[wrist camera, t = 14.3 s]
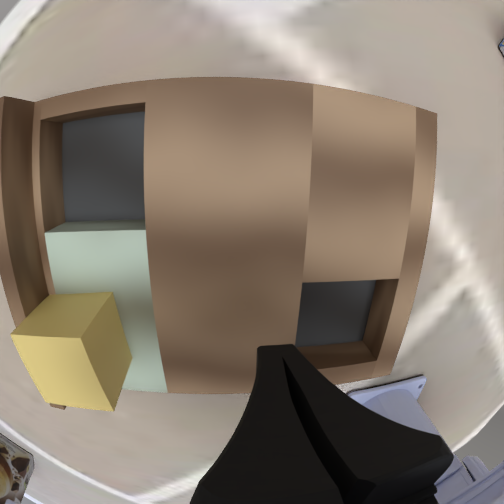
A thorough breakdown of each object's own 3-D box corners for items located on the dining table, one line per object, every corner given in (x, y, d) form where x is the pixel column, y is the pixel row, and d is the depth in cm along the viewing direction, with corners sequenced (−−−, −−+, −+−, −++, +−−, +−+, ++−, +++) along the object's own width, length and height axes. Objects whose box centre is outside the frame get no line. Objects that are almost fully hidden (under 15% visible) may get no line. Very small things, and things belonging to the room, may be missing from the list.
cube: (132, 358, 14) (113, 411, 10) (72, 356, 14) (45, 402, 10) (112, 291, 13) (80, 337, 9) (49, 294, 12) (10, 334, 9)
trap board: (374, 353, 19) (407, 398, 14) (78, 357, 16) (51, 406, 12) (410, 116, 14) (469, 110, 9) (45, 111, 12) (-10, 102, 7)
